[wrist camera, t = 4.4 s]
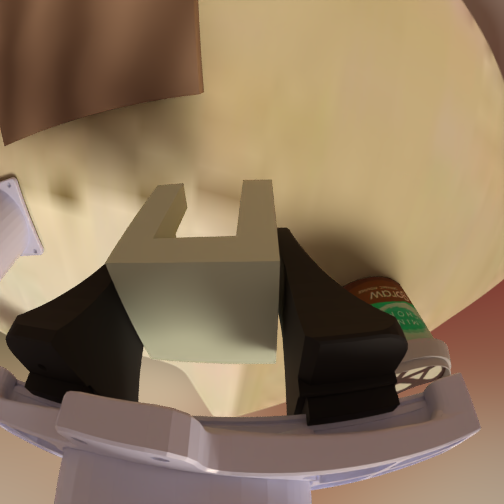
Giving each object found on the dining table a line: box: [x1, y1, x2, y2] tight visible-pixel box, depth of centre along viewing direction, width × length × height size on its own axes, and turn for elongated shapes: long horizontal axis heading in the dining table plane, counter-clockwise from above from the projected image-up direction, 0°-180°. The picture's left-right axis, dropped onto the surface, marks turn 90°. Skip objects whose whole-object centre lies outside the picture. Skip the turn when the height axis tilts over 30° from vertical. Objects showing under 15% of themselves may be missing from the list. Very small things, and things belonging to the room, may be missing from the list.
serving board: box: [0, 0, 204, 146], centre depth 10 cm, size 16×16×2 cm
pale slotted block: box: [105, 180, 280, 364], centre depth 11 cm, size 5×5×6 cm
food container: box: [343, 277, 451, 394], centre depth 21 cm, size 12×6×10 cm, turn 94°
